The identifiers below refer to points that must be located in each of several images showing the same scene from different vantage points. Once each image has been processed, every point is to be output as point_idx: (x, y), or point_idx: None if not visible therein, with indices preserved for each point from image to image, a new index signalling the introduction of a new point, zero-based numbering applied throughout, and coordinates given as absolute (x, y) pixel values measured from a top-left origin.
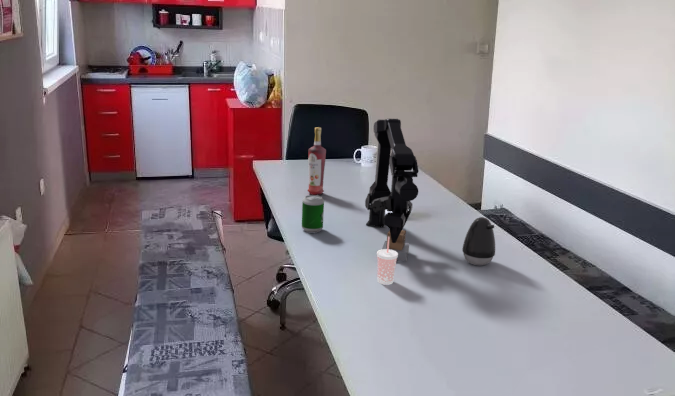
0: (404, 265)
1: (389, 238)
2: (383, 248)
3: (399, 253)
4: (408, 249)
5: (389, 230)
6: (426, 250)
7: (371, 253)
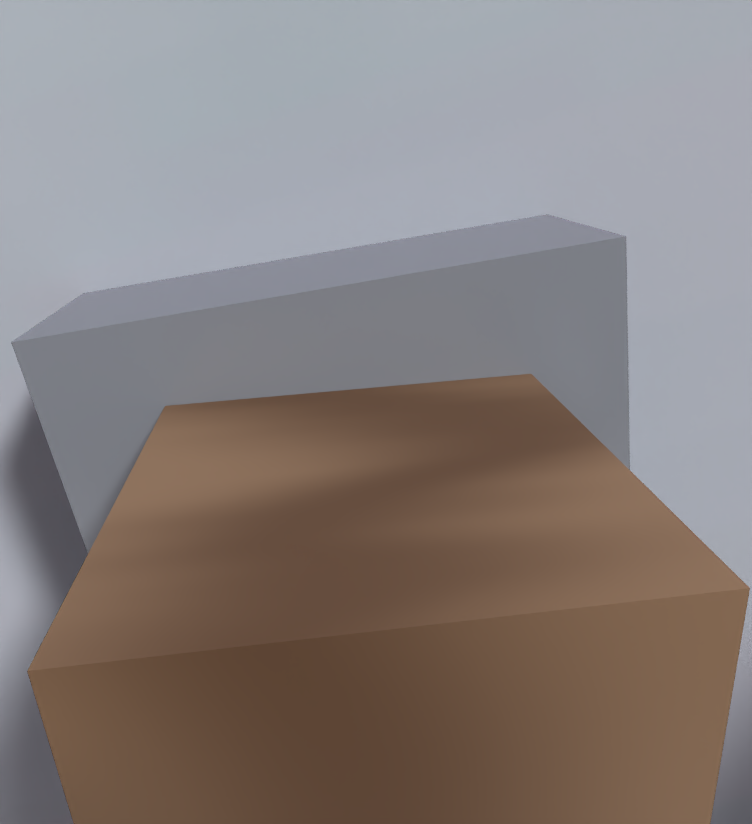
0: None
1: None
2: (93, 359)
3: None
4: None
5: (445, 629)
6: None
7: (217, 23)
